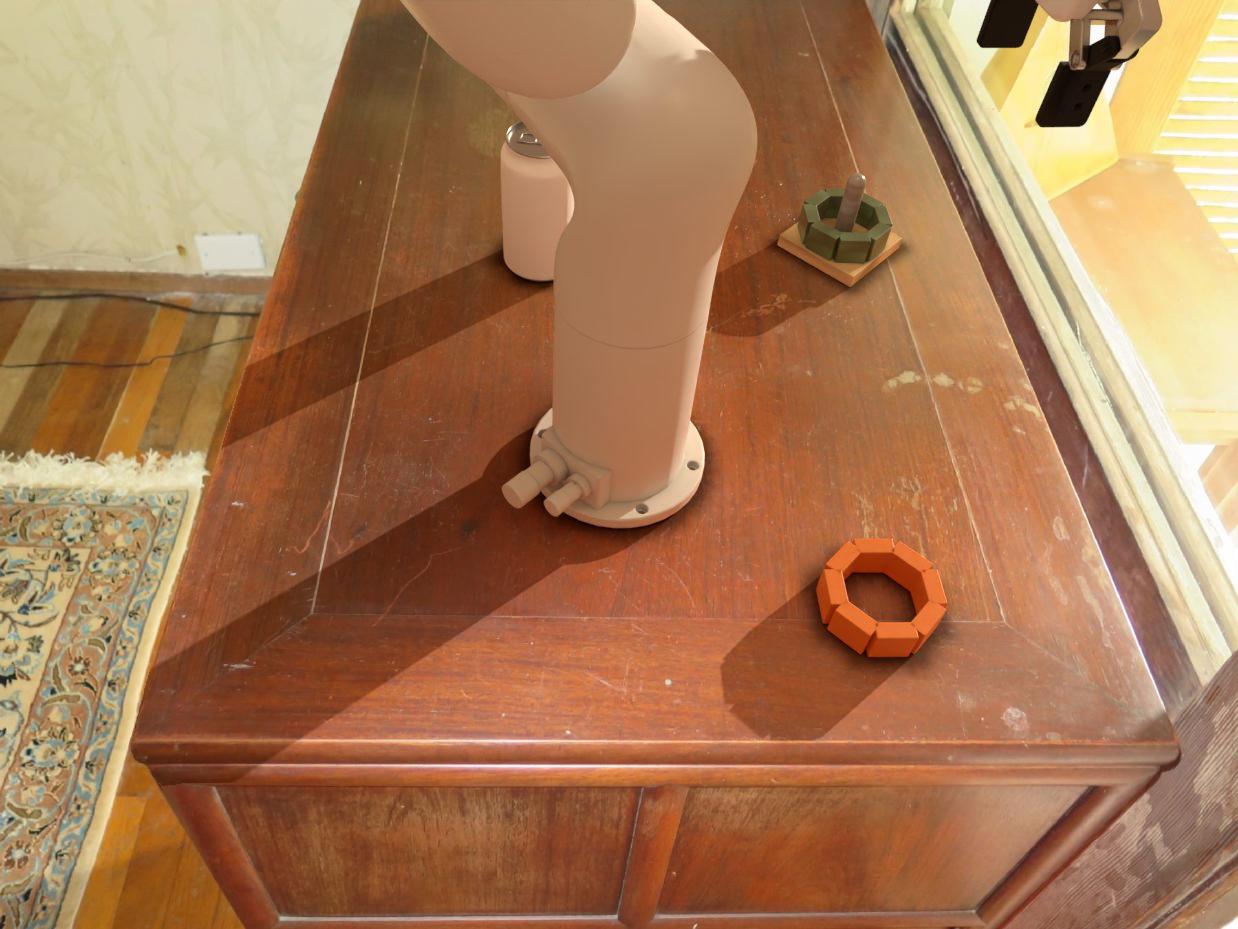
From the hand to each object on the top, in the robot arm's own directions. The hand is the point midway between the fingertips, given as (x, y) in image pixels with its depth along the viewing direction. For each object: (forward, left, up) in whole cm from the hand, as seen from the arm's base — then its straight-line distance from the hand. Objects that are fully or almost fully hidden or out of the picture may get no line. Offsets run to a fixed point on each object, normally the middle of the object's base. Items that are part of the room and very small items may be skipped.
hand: (1027, 83), depth 64 cm
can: (-15, +29, -23) cm, 40 cm away
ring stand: (+6, +12, -23) cm, 27 cm away
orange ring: (-24, -11, -23) cm, 35 cm away
